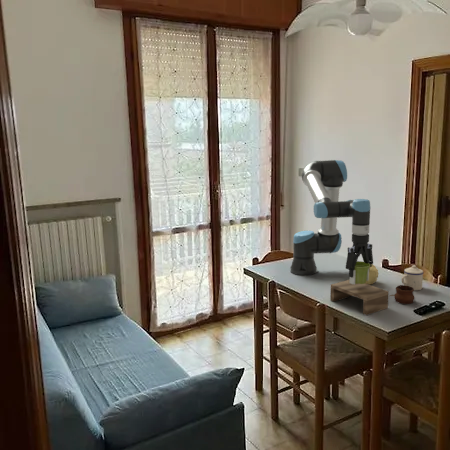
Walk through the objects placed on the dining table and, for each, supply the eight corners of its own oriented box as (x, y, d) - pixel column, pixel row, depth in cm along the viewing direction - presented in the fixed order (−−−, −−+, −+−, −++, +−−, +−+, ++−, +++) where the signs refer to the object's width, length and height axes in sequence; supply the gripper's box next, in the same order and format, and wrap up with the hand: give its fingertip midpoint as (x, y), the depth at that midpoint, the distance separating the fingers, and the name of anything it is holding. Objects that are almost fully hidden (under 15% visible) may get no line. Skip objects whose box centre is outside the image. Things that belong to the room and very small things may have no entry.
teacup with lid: (412, 283, 237) (413, 262, 234) (426, 289, 228) (427, 266, 226) (394, 287, 232) (395, 265, 230) (408, 292, 224) (409, 270, 222)
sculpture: (379, 286, 234) (380, 266, 232) (355, 285, 236) (356, 265, 234) (376, 279, 245) (377, 260, 243) (353, 279, 247) (354, 259, 245)
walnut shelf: (330, 300, 216) (330, 284, 215) (351, 294, 224) (351, 279, 222) (366, 315, 198) (367, 297, 196) (387, 308, 205) (388, 291, 204)
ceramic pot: (380, 294, 223) (381, 280, 221) (417, 295, 221) (419, 281, 219) (389, 309, 205) (390, 294, 204) (430, 310, 203) (431, 295, 202)
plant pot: (373, 282, 208) (374, 264, 206) (360, 286, 202) (360, 268, 201) (357, 277, 215) (358, 260, 213) (344, 281, 210) (344, 263, 208)
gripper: (350, 238, 196) (349, 288, 200) (383, 231, 206) (381, 279, 211) (337, 235, 202) (336, 284, 206) (369, 229, 213) (368, 275, 217)
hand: (359, 281), depth 209 cm, fingers closed on plant pot, 8 cm apart
